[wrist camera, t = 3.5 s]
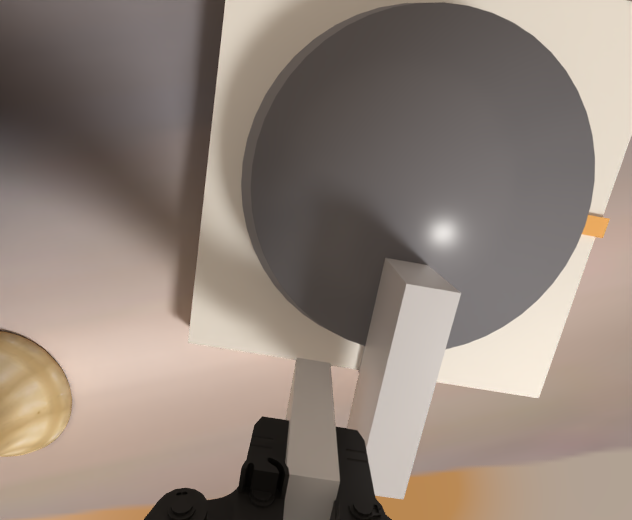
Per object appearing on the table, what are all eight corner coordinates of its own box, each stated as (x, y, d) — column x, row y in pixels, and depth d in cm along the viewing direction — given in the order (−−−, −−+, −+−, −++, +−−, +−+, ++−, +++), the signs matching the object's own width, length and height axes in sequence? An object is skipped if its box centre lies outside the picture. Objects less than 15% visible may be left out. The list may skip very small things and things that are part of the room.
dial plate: (195, 333, 22) (186, 346, 21) (241, -64, 18) (233, -89, 16) (527, 385, 23) (543, 402, 22) (650, 23, 19) (684, 9, 17)
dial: (283, -11, 17) (267, -107, 11) (610, 57, 17) (760, 2, 12) (227, 386, 21) (195, 469, 15) (489, 426, 22) (554, 520, 16)
